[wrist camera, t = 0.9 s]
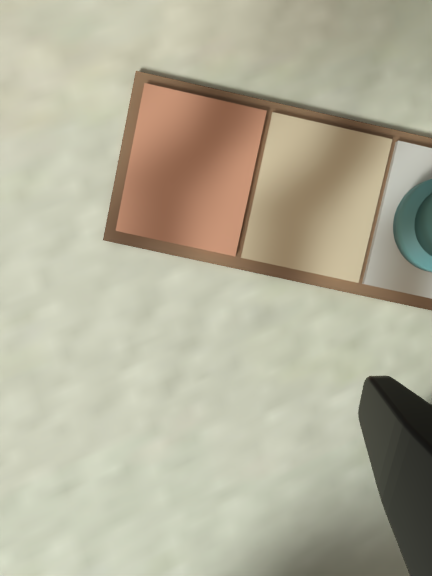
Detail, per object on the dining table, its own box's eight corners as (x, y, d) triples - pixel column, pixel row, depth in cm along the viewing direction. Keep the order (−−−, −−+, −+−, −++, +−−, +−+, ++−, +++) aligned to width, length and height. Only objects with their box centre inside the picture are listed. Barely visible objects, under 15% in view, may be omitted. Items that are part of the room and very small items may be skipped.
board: (520, 161, 21) (530, 158, 21) (479, 320, 22) (487, 322, 21) (137, 73, 21) (134, 67, 20) (104, 240, 21) (101, 239, 21)
